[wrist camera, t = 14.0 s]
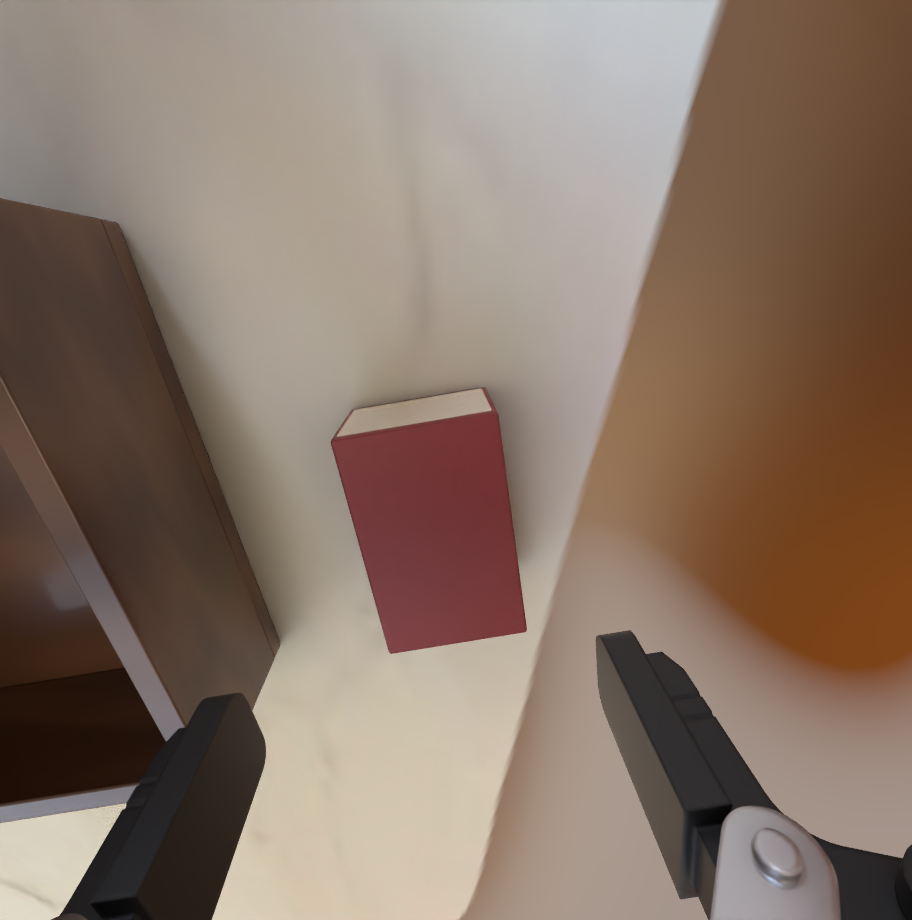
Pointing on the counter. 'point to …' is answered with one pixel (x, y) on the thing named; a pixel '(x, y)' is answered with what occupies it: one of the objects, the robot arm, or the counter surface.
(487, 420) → the book
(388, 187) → the counter surface
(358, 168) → the counter surface
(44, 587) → the chest
